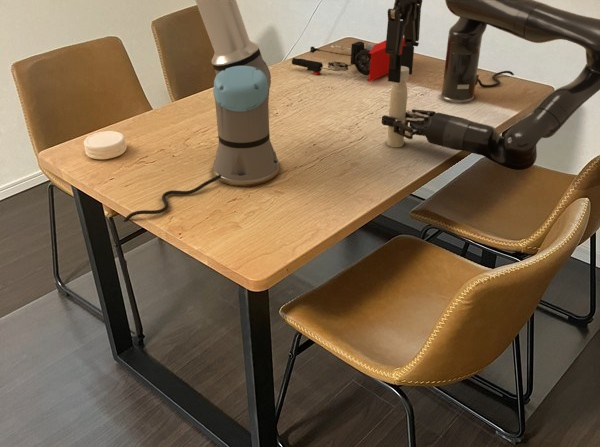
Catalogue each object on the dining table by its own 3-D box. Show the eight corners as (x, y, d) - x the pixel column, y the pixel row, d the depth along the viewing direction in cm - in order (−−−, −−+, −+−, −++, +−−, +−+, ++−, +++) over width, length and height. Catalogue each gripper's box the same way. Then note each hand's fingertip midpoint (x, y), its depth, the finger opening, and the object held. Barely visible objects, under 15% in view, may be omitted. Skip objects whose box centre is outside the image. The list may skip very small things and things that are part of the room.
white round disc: (96, 164, 150) (94, 150, 148) (79, 150, 156) (76, 138, 154) (134, 151, 155) (131, 138, 153) (115, 139, 162) (113, 127, 160)
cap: (389, 79, 148) (389, 69, 146) (395, 74, 150) (396, 64, 149) (404, 81, 146) (405, 72, 145) (411, 76, 149) (411, 67, 147)
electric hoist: (290, 38, 202) (370, 53, 187) (334, 24, 221) (410, 36, 206) (290, 69, 207) (368, 86, 192) (333, 52, 226) (407, 67, 211)
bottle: (397, 148, 155) (402, 75, 145) (383, 144, 157) (388, 71, 147) (406, 143, 157) (412, 70, 147) (393, 139, 160) (398, 67, 150)
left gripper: (410, -34, 144) (402, 63, 157) (372, -19, 131) (367, 86, 143) (440, -31, 141) (430, 68, 153) (405, -16, 127) (397, 92, 140)
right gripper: (436, 157, 144) (372, 140, 152) (461, 136, 153) (399, 120, 162) (439, 127, 140) (373, 111, 148) (465, 107, 149) (401, 93, 158)
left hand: (400, 77), depth 148 cm, fingers open, 6 cm apart
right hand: (387, 116), depth 155 cm, fingers closed on bottle, 4 cm apart
